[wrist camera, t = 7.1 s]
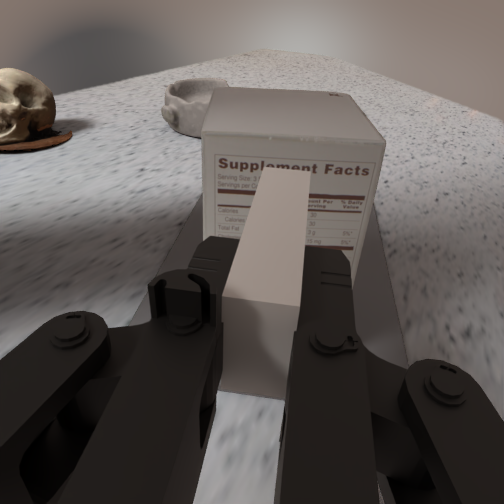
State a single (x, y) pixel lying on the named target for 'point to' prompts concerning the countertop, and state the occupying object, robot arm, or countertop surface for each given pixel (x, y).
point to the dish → (189, 104)
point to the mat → (364, 289)
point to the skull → (26, 112)
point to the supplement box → (291, 161)
